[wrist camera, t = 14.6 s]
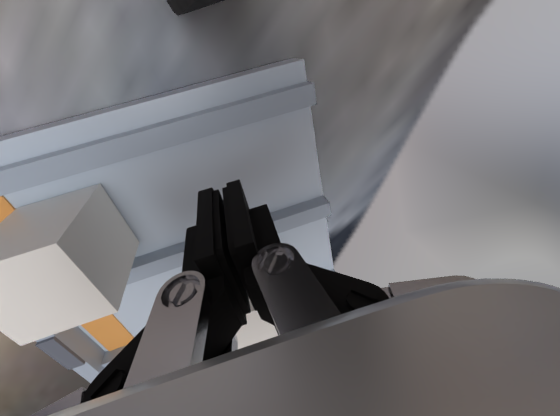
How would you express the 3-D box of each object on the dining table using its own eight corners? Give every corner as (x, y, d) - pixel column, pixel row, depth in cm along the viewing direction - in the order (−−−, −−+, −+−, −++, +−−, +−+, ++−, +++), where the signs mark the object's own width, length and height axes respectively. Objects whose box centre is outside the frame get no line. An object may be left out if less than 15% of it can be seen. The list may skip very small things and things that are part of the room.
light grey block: (100, 183, 13) (56, 243, 9) (139, 242, 16) (117, 312, 11) (17, 208, 13) (-68, 282, 9) (69, 264, 15) (20, 345, 11)
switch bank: (292, 58, 15) (316, 60, 12) (333, 314, 28) (350, 347, 25) (-81, 157, 13) (-170, 192, 10) (153, 384, 26) (147, 428, 23)
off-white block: (272, 239, 18) (294, 295, 14) (284, 278, 20) (306, 337, 16) (215, 258, 18) (220, 322, 13) (233, 296, 20) (242, 362, 16)
